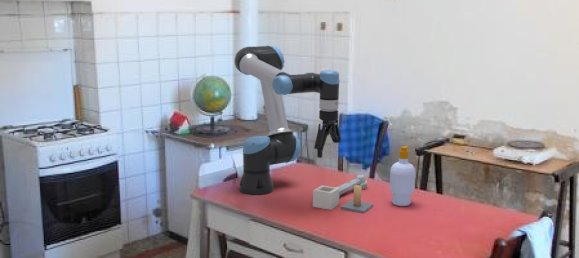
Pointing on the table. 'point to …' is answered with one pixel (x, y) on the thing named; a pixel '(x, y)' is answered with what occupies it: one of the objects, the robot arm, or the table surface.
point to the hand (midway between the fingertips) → (327, 161)
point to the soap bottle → (402, 179)
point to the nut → (326, 197)
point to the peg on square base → (357, 202)
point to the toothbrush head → (353, 184)
